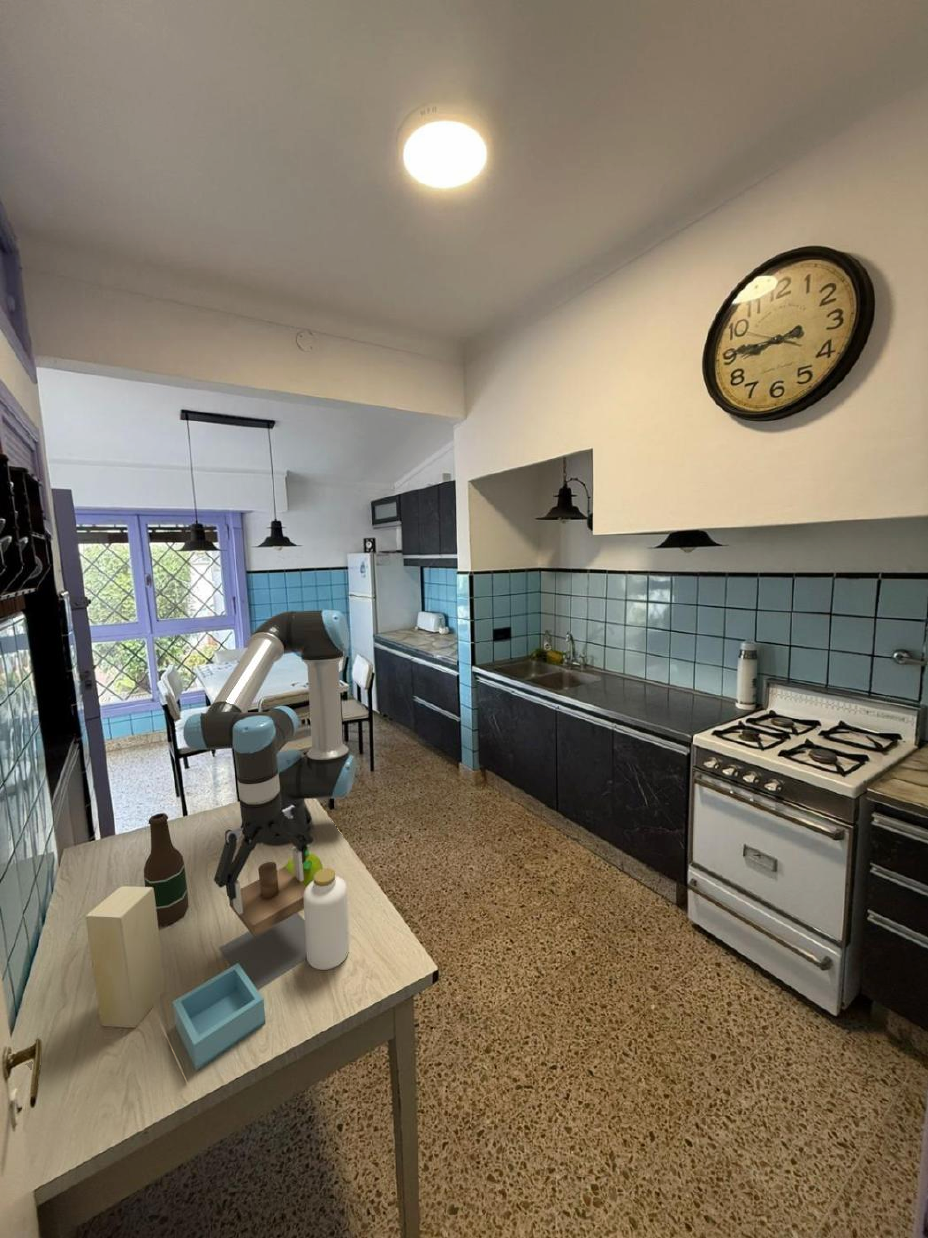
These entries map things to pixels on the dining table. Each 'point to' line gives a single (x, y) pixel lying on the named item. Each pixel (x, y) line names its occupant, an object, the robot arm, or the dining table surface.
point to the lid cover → (270, 898)
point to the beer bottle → (166, 873)
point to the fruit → (307, 867)
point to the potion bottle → (326, 920)
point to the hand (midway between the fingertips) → (270, 893)
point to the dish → (218, 1015)
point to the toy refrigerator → (126, 956)
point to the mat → (269, 951)
